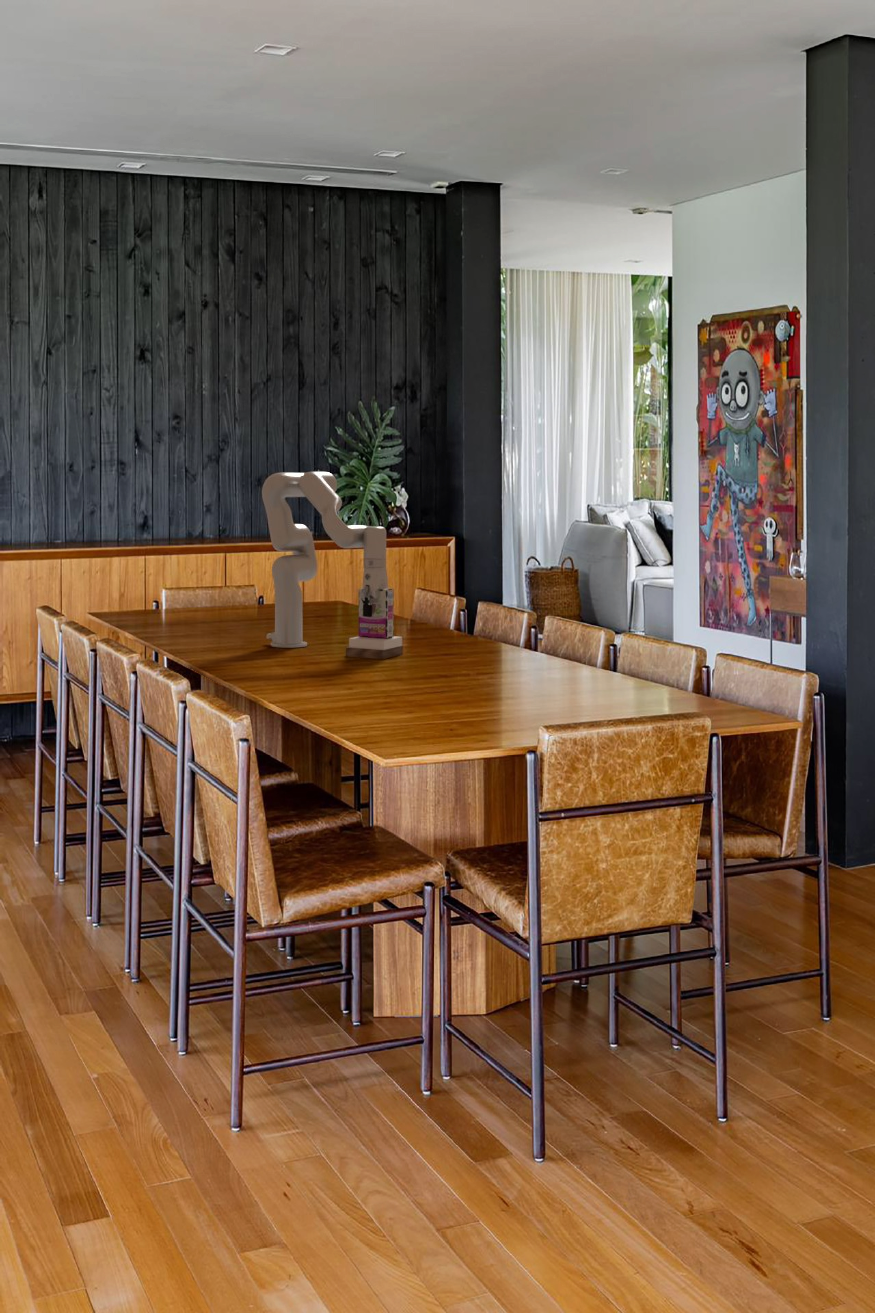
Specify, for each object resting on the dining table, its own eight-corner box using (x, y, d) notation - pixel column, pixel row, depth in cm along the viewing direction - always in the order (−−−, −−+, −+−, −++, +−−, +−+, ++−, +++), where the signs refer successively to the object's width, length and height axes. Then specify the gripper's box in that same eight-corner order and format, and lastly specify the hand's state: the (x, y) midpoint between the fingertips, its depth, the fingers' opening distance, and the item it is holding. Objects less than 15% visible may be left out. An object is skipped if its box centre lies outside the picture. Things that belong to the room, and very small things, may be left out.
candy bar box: (394, 637, 472) (394, 588, 470) (387, 639, 468) (387, 589, 466) (365, 635, 477) (365, 586, 475) (357, 637, 473) (357, 587, 471)
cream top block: (349, 647, 469) (349, 638, 469) (368, 643, 481) (368, 634, 480) (383, 650, 463) (383, 640, 463) (402, 645, 475) (402, 636, 475)
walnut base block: (345, 657, 469) (345, 647, 469) (366, 653, 482) (366, 642, 481) (383, 660, 463) (383, 650, 463) (402, 655, 476) (402, 645, 475)
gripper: (372, 565, 459) (372, 618, 461) (396, 562, 475) (396, 613, 477) (352, 565, 462) (352, 617, 465) (377, 562, 478) (376, 612, 480)
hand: (374, 615), depth 471 cm, fingers open, 9 cm apart
